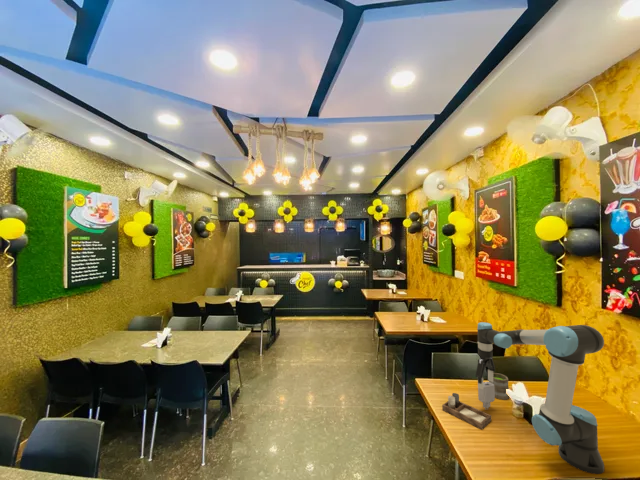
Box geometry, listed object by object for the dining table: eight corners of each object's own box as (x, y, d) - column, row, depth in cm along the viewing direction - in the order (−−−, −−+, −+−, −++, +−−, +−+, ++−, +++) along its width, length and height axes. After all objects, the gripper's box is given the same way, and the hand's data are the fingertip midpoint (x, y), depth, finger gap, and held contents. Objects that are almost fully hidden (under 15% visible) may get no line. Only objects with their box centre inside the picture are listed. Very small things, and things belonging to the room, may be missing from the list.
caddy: (491, 420, 152) (491, 406, 152) (481, 429, 145) (481, 414, 145) (452, 402, 170) (452, 389, 170) (442, 410, 163) (442, 396, 163)
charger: (496, 410, 162) (495, 384, 162) (485, 413, 158) (484, 387, 159) (488, 405, 166) (487, 381, 166) (477, 409, 163) (477, 384, 163)
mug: (513, 399, 172) (512, 380, 173) (496, 399, 173) (495, 380, 173) (497, 386, 188) (496, 369, 188) (481, 387, 188) (481, 369, 188)
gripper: (487, 342, 173) (488, 375, 173) (468, 352, 159) (469, 388, 158) (500, 346, 167) (501, 380, 167) (482, 356, 153) (483, 394, 152)
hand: (485, 384), depth 163 cm, fingers open, 13 cm apart
